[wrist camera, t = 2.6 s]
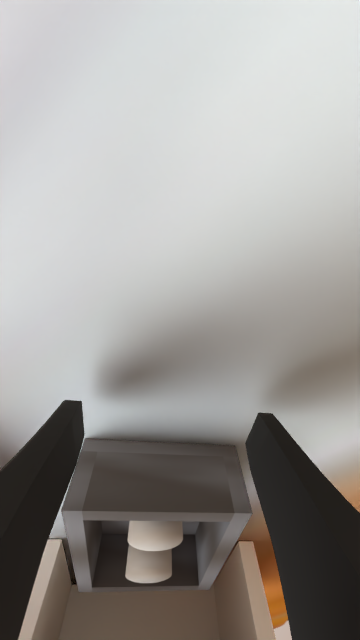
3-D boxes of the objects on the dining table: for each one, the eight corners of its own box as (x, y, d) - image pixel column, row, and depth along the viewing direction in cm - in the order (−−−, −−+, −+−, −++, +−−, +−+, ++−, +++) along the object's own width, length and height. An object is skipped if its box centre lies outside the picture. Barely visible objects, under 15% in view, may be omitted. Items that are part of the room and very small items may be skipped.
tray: (202, 522, 18) (209, 589, 15) (94, 521, 18) (78, 592, 15) (233, 439, 14) (252, 513, 11) (86, 432, 13) (61, 510, 10)
